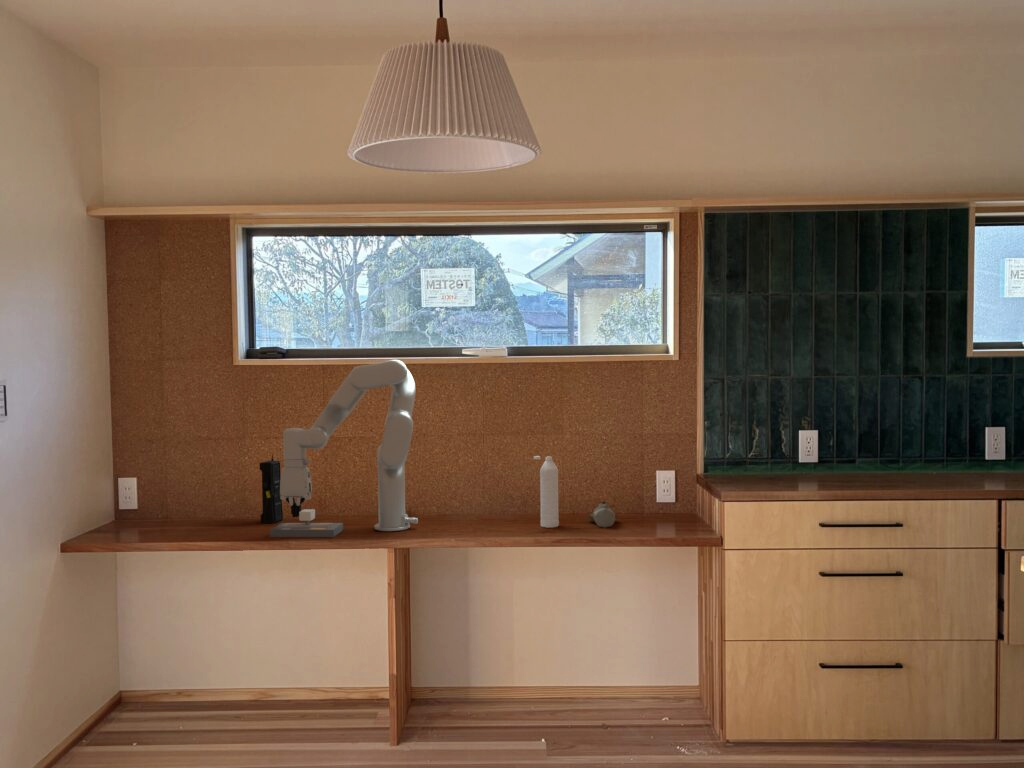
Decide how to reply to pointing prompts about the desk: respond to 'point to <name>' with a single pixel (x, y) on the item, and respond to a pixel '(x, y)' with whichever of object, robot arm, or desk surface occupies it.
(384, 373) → the robot arm
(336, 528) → the fader console
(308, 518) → the fader knob
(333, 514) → the desk surface
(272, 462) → the portable radio
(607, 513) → the ceramic sculpture
